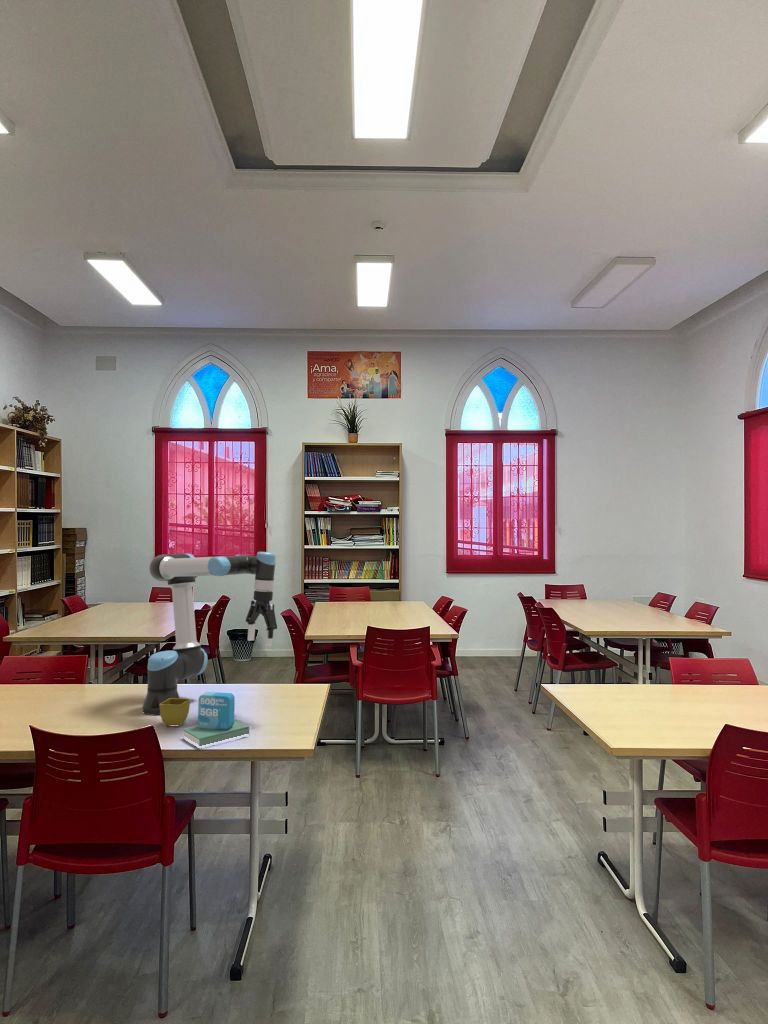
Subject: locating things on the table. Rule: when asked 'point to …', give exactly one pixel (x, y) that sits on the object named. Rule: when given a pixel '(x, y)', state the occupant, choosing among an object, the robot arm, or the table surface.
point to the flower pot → (174, 711)
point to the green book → (214, 733)
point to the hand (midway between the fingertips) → (259, 643)
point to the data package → (216, 710)
